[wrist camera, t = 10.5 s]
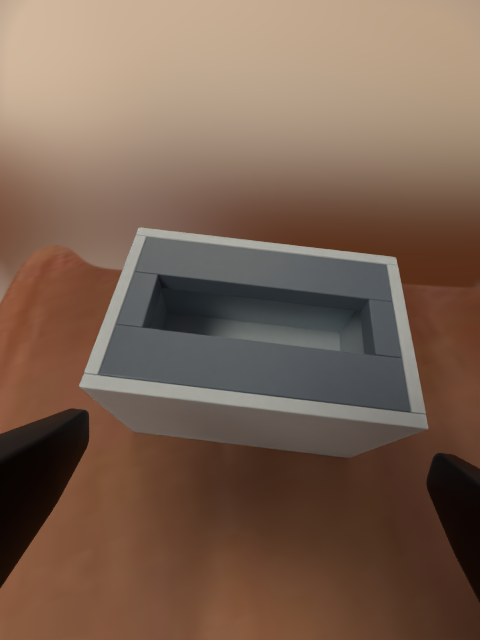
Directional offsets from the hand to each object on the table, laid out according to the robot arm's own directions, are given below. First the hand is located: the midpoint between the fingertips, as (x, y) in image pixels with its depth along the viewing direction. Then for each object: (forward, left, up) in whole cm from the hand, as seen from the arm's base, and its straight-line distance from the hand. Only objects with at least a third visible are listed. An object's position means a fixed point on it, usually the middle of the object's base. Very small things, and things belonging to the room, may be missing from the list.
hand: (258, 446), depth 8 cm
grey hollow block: (+2, +1, -8) cm, 9 cm away
